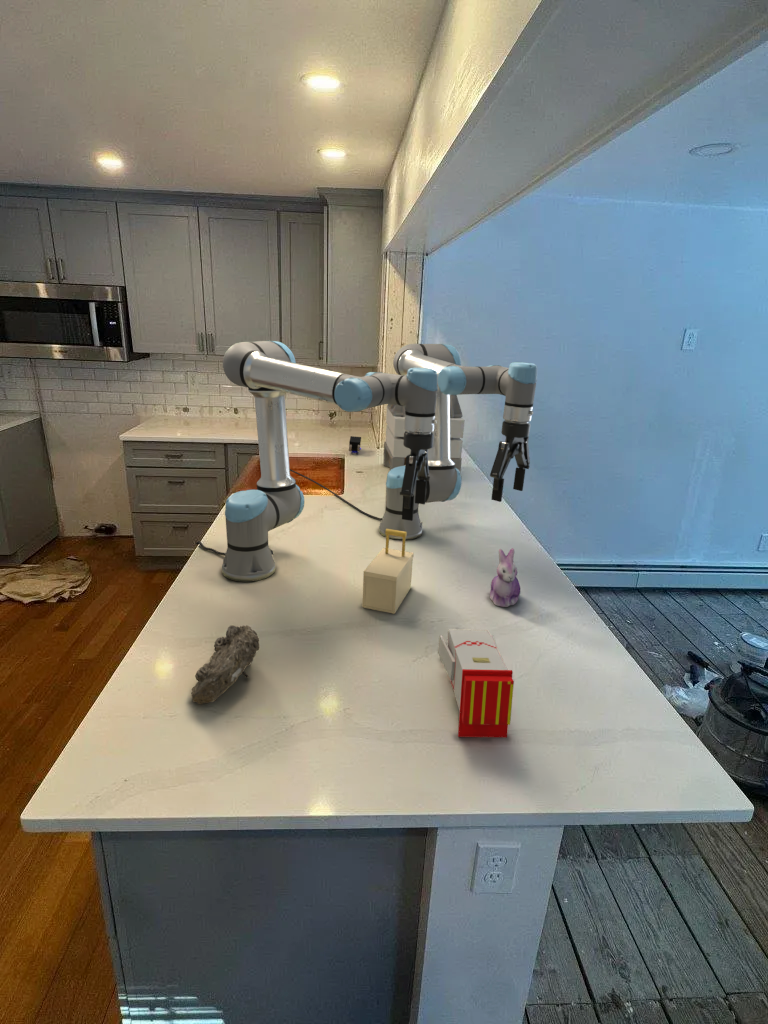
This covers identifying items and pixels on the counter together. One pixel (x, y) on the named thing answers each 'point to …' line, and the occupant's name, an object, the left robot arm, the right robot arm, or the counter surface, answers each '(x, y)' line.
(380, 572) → the lid
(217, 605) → the counter surface
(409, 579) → the chest
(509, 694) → the white and red box
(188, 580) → the counter surface
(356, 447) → the figurine character
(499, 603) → the figurine
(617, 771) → the counter surface
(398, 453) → the transformer
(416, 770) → the counter surface
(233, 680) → the fossil
